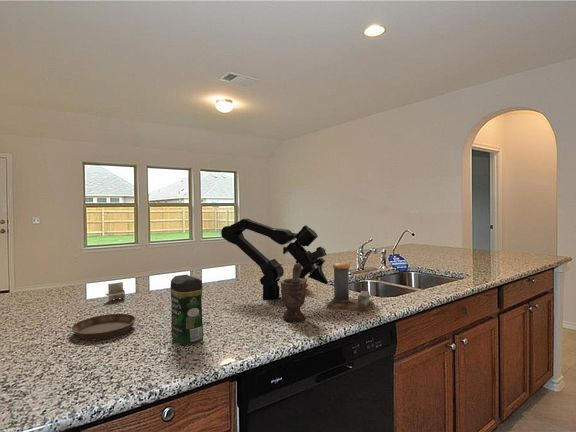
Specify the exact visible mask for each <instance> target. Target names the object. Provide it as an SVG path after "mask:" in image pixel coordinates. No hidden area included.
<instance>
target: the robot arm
mask: <svg viewBox="0 0 576 432" xmlns="http://www.w3.org/2000/svg"><path fill="white" fill-rule="evenodd" d="M246 230H248V231H250V232H254V233H256V234H257V233H258V234H260V235H262V236H265V237H268V238H269V239H271V240H272V241H273V242H275V243H277V244H278V245H281V246H284V245H287V244H288V245H287V246H284V247H282V254H283V255H286V254H287V253H289V254H290V256H292V257H293V259H294V260H295V264H297V263H298V264H300V265H301V266H302V270H301V273H300V277H301V279H303V278H306V276H307V275H308V274H309V275H308V276H307V278H309V279H312V280H314V281H317V282H319V283H321V284H323V285H328V284H329V281H328V279H327V277H326V275H325V273H324V271H323V265H324V264H325V262H326V260H325V259H324V257H325V256H328V255H327V252H326V251H327V250H326V248H324V247H322V246H318V247H316V250H314V251H310V250H306V249H305V247H309V246H311V244H312V243H313V242H314V241H315V240H316V239H317V238H318V236H319V235H318V234H317V233H316V231H315V230H314V229H312V228H310V227H309V225H306V224H305V225H303V226H302V228H301V230H299V231H298V232H297V233H296V232H295V233H294V232H292V230H290V229H285V228H276V227H271V226H269V225H266V224H263V223H260V222H257V221H255V220H252V219H251V218H242V219H241V220H239V221H236V222H235V223H232V224H231V225H225V226H223V227H222V228H221V233H220V236H221V237H222V239H223V240H226V241H227V242H228V243H231V244H233V245H235V246H237V247H238V248H239V249H240V250H241V251H242V252H243V253H244V254H245V255H246V256H248V257H249V258H250V259H251V260H252V261H253V262H254V263H255V264H256V265H257V266H258V267H259V268H260V270H261V273H262V275H263V276H262V277H260V279H259V282H260V284H261V286H262V300H278V299H279V297H280V296H281V291H280V284H279V282H280V279H281V278H282V277H283V276H284V273H285V271H284V267H283V266H282V265H283V264H281V263H280V262H278V260H277V259H275V258H273V259H269V258H267V257H266V256H265V255H264V254H263V253H262V252H260V250H259V249H257V247H256V246H254V245H253V244H252V243H251V242H250V241H249V240H247V238H245V236H244V232H245V231H246ZM294 240H295V241H294ZM293 241H294V242H293Z"/></svg>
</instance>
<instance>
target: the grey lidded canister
mask: <svg viewBox="0 0 576 432" xmlns="http://www.w3.org/2000/svg"><path fill="white" fill-rule="evenodd" d="M350 267H351V264H350V263H347V262H335V263H332V268H333V298H334V299H333V298H332V299H333V302H341V303H347V302H348V301H349V298H350V296H349V295H350V292H349V291H350V286H349V283H350V281H349V280H350V278H349V277H350V275H349V274H350Z"/></svg>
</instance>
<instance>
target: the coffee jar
mask: <svg viewBox="0 0 576 432" xmlns="http://www.w3.org/2000/svg"><path fill="white" fill-rule="evenodd" d="M202 295H203V282H202V280H201V279H200V278H197V277H194V276H191V275H189V274H186V273H185V274H181V275H180V274H179V275H175V276H173V277H172V279H171V280H170V299H171V300H170V301H171V302H170V303H171V304H170V305H171V306H170V307H171V308H170V309H171V327H170V328H171V329H170V333H171V338H172V340H173V341H174V342H176V343H177V344H180V345H193V344H195V343H197V342H200V341H201V340H203V338H204V325H203V324H204V323H203V304H202V302H203V300H202V299H203V298H202V297H203V296H202Z"/></svg>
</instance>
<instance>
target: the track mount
mask: <svg viewBox="0 0 576 432" xmlns="http://www.w3.org/2000/svg"><path fill="white" fill-rule="evenodd" d="M333 299H334V297H333V298H332V299H331V300H330V301H329V302H328V303H327V305H326V306H327V307H326V308H327V309H336V310H346V311H347V310H348V311H355V312H367V313H368V312H369V311H370V309H371V306H372V305H373V299H370V291H368V290H367V291H366V290H361V291H360V293H359V294H358V296H357V298H354V297H353V298H352V297H349V301H348V302H347V303H341V302H333Z"/></svg>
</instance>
